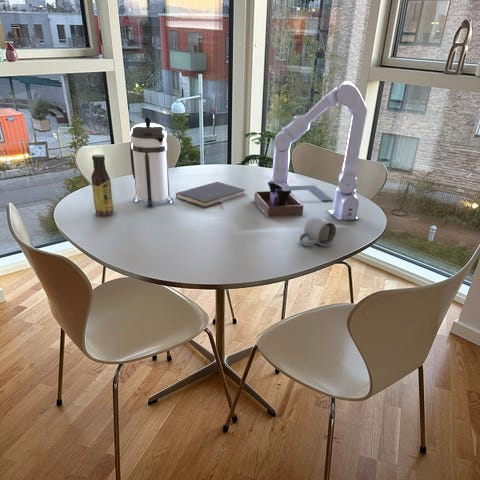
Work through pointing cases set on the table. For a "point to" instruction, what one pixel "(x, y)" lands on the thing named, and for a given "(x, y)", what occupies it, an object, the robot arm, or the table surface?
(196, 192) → the hardcover book
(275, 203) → the block
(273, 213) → the brown wooden tray
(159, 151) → the coffee press
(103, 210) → the sauce bottle
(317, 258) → the table surface
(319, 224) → the ceramic mug
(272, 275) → the table surface
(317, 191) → the mat
